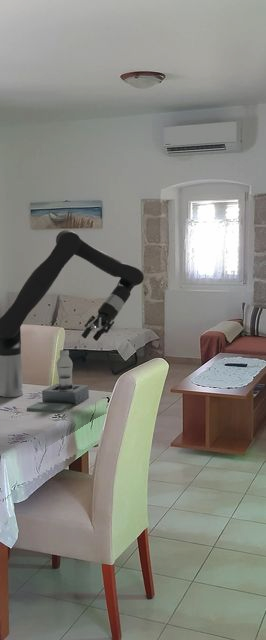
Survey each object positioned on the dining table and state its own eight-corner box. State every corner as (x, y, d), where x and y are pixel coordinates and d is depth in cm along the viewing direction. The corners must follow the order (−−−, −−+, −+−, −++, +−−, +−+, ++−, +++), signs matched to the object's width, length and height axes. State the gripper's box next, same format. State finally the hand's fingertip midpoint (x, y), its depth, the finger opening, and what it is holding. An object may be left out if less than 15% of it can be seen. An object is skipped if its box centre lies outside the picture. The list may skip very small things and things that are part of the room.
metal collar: (42, 403, 252) (42, 390, 252) (57, 395, 264) (56, 383, 264) (75, 405, 248) (75, 392, 247) (88, 397, 260) (88, 385, 259)
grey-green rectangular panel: (26, 410, 242) (26, 407, 242) (37, 404, 251) (37, 402, 251) (60, 412, 238) (60, 410, 238) (71, 406, 246) (71, 404, 246)
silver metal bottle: (75, 398, 259) (73, 349, 257) (72, 402, 252) (70, 352, 250) (59, 398, 260) (57, 349, 257) (56, 402, 253) (54, 352, 251)
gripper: (96, 300, 271) (73, 330, 266) (115, 302, 260) (92, 334, 254) (106, 312, 275) (85, 342, 269) (126, 314, 263) (104, 346, 258)
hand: (88, 338), depth 262 cm, fingers open, 8 cm apart
